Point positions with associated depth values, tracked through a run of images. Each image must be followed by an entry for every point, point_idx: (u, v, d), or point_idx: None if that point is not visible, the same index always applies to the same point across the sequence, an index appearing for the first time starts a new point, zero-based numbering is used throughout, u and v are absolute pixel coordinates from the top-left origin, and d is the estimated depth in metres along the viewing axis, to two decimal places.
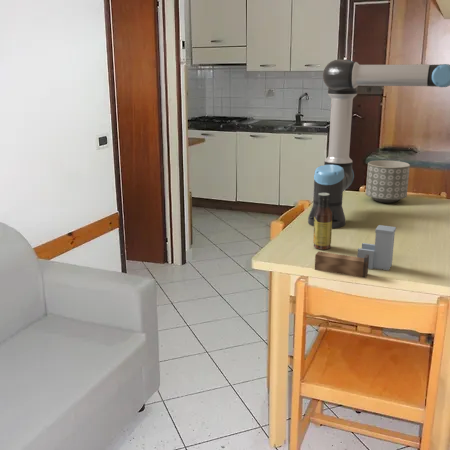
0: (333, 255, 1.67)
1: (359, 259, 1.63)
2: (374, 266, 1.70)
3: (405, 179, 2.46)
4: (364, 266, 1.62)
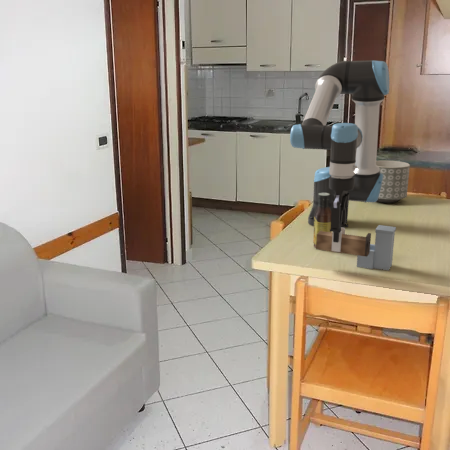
0: None
1: (361, 238, 1.62)
2: (374, 266, 1.70)
3: (405, 178, 2.46)
4: (366, 245, 1.60)
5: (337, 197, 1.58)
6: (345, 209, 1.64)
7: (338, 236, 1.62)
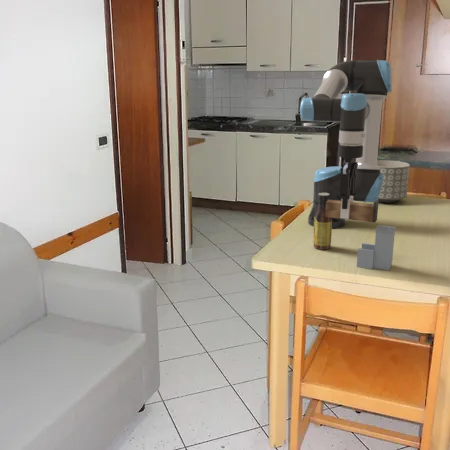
0: None
1: (369, 205, 1.68)
2: (374, 266, 1.70)
3: (405, 179, 2.46)
4: (374, 211, 1.66)
5: (346, 164, 1.64)
6: (353, 178, 1.70)
7: (347, 203, 1.68)
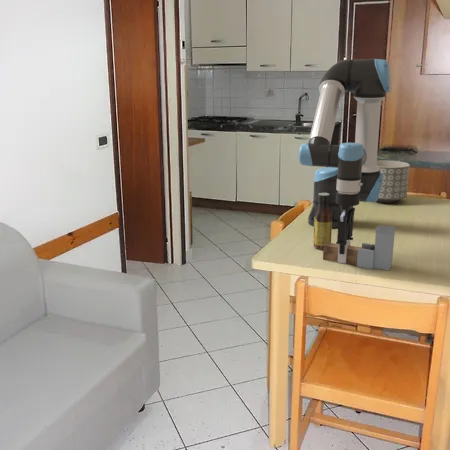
0: None
1: None
2: (374, 266, 1.70)
3: (405, 179, 2.46)
4: None
5: (343, 212, 1.68)
6: (350, 223, 1.74)
7: (344, 248, 1.72)
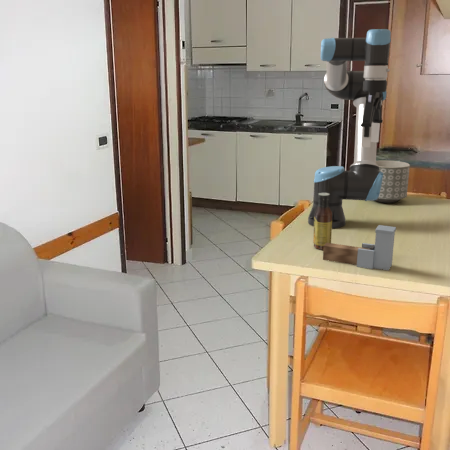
0: (340, 246, 1.76)
1: None
2: (374, 266, 1.70)
3: (405, 178, 2.46)
4: None
5: None
6: (379, 109, 1.80)
7: (368, 131, 1.71)
